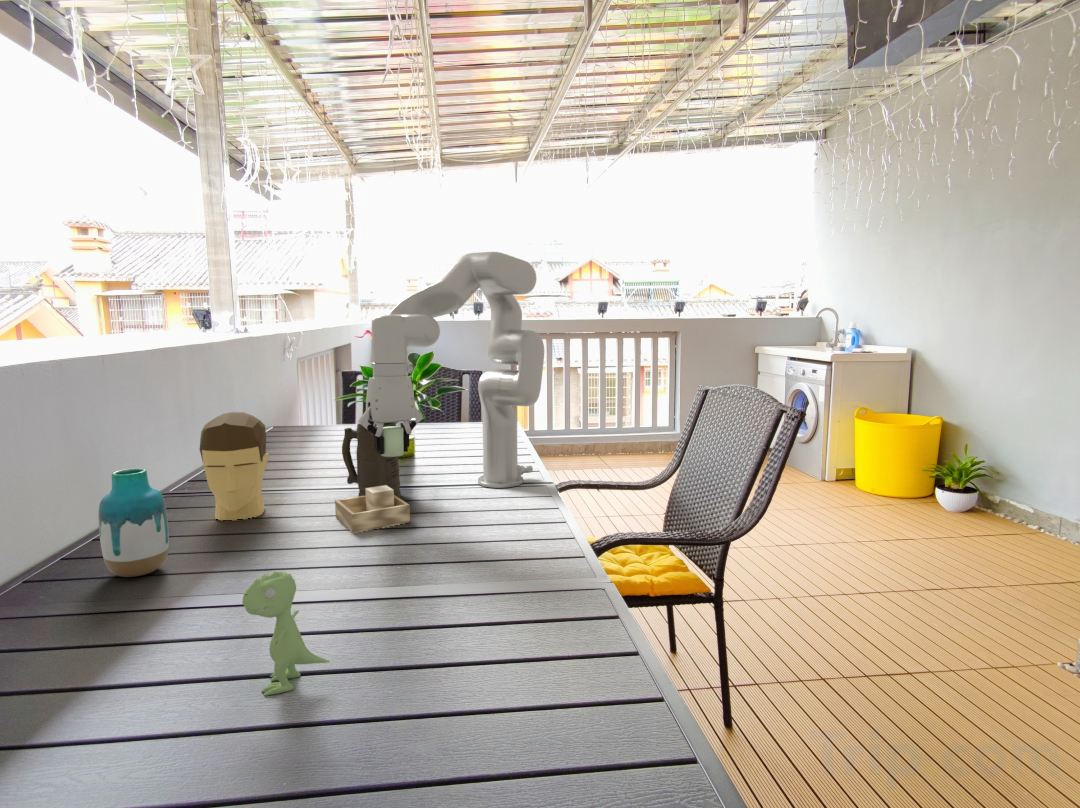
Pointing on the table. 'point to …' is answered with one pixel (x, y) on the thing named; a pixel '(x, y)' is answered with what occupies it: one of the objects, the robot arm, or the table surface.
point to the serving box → (370, 514)
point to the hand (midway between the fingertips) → (392, 451)
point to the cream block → (379, 497)
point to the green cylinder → (393, 441)
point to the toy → (280, 627)
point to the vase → (133, 525)
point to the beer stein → (370, 462)
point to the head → (235, 464)
